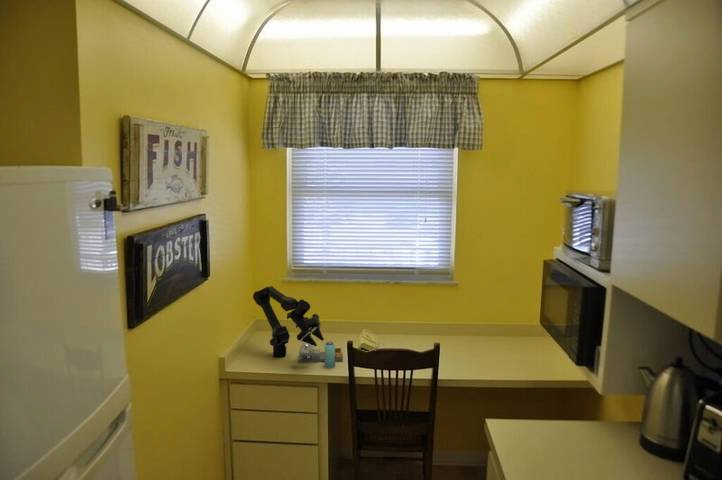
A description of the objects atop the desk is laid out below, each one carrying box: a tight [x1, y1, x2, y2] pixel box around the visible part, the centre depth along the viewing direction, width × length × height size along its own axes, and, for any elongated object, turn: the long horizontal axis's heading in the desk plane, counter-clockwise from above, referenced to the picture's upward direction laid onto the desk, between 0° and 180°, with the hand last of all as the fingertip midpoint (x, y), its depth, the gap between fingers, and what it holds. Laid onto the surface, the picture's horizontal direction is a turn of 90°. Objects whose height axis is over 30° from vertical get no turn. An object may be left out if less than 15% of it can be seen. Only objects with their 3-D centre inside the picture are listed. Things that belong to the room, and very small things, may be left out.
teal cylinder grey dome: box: [324, 340, 336, 369], centre depth 261 cm, size 5×5×12 cm
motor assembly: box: [297, 341, 344, 363], centre depth 272 cm, size 23×11×8 cm, turn 92°
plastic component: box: [355, 328, 378, 351], centre depth 292 cm, size 20×7×10 cm
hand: (319, 342), depth 262 cm, fingers open, 9 cm apart
